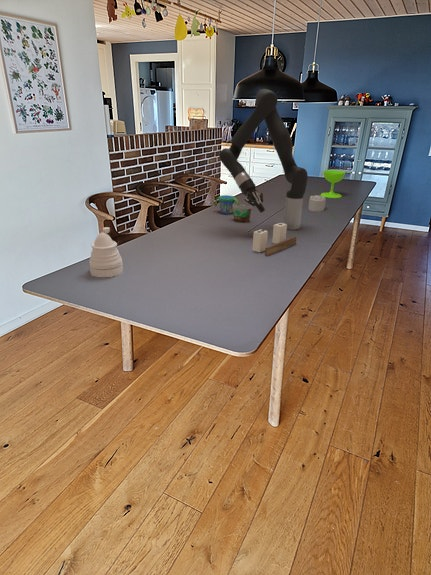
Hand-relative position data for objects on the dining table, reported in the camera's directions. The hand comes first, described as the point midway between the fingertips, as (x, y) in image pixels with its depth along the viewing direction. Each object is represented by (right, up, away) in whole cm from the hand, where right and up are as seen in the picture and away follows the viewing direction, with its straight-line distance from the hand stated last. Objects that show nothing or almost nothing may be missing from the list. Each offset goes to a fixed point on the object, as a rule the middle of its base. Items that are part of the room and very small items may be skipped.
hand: (262, 211), depth 193 cm
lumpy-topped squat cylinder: (+44, +15, +68) cm, 83 cm away
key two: (-3, -20, -12) cm, 24 cm away
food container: (-9, +1, +38) cm, 39 cm away
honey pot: (-68, -32, -35) cm, 83 cm away
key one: (+8, -16, -1) cm, 17 cm away
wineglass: (+66, +33, +108) cm, 131 cm away
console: (+2, -19, -6) cm, 20 cm away
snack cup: (-17, +10, +55) cm, 58 cm away
